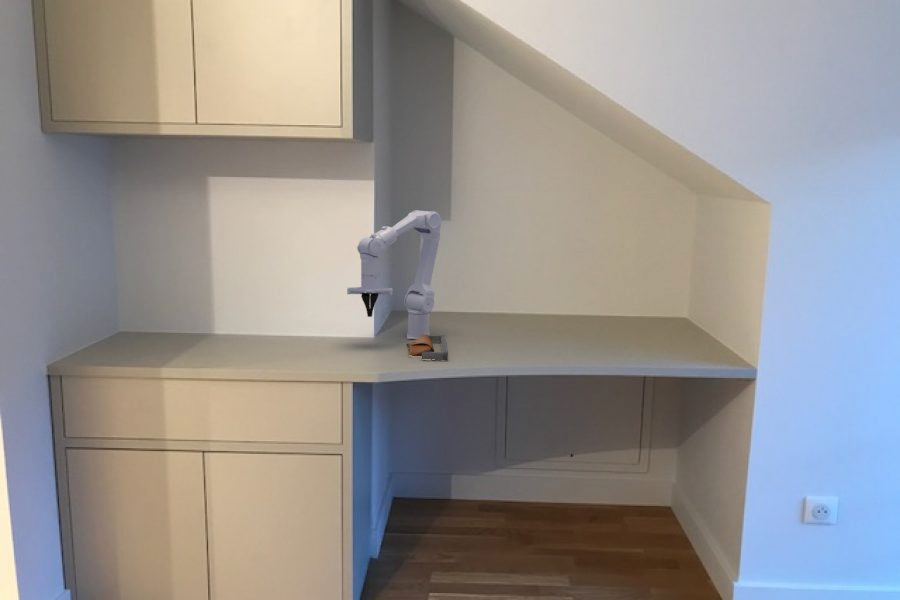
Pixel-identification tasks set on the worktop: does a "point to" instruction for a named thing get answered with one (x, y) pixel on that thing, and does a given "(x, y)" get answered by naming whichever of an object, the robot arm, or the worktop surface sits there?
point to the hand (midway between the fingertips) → (369, 316)
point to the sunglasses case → (420, 346)
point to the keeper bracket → (437, 355)
